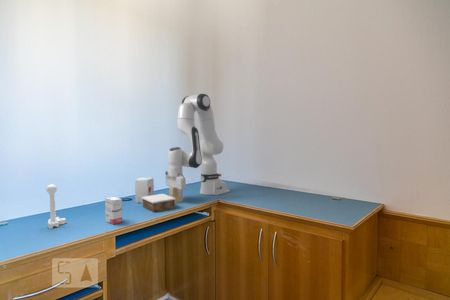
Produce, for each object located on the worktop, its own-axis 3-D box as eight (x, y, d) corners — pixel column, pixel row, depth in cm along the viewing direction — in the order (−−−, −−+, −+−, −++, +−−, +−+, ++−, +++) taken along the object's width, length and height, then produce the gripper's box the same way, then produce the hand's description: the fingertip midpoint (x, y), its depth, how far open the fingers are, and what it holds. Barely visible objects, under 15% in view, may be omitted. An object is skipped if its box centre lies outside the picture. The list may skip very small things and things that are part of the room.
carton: (179, 200, 190) (178, 185, 189) (182, 201, 186) (182, 186, 186) (169, 201, 186) (169, 186, 185) (173, 203, 182) (172, 187, 181)
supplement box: (148, 203, 182) (147, 179, 181) (135, 202, 184) (134, 179, 183) (154, 200, 191) (153, 177, 190) (141, 199, 193) (141, 177, 192)
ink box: (123, 222, 145) (122, 198, 144) (113, 224, 141) (112, 200, 141) (114, 218, 151) (113, 196, 150) (105, 221, 147) (104, 198, 146)
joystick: (49, 222, 146) (47, 183, 145) (66, 220, 150) (64, 181, 148) (47, 229, 136) (45, 186, 135) (65, 226, 140) (63, 185, 138)
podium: (163, 203, 183) (163, 193, 182) (175, 208, 170) (175, 198, 170) (141, 206, 174) (141, 197, 174) (153, 212, 161) (153, 202, 161)
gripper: (188, 174, 178) (188, 196, 179) (172, 170, 195) (172, 191, 195) (179, 175, 175) (179, 198, 176) (163, 171, 191) (164, 192, 192)
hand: (176, 194), depth 186 cm, fingers open, 8 cm apart
